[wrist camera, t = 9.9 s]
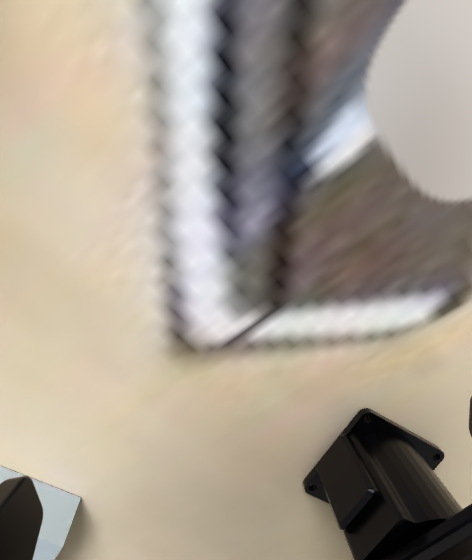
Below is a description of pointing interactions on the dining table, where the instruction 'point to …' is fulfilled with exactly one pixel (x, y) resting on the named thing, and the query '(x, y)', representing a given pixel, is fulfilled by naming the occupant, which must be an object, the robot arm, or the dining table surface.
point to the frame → (50, 516)
